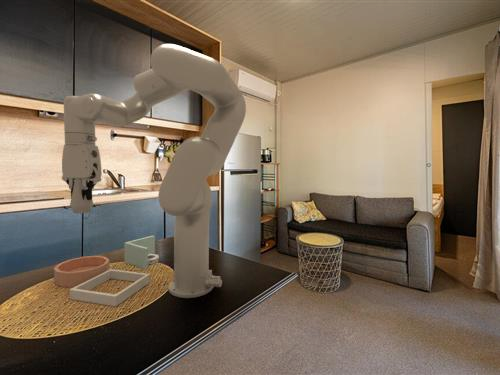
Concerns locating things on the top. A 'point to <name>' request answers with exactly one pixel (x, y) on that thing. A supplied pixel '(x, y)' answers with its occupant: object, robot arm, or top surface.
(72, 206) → the salt shaker
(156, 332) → the top surface
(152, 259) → the right angle wall
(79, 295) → the rectangular frame
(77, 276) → the bowl
